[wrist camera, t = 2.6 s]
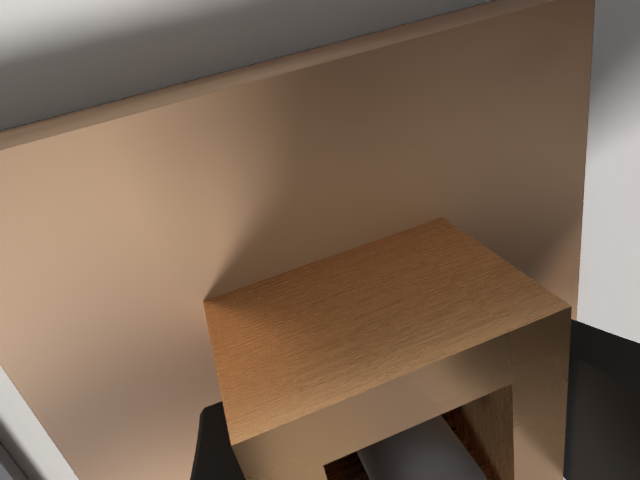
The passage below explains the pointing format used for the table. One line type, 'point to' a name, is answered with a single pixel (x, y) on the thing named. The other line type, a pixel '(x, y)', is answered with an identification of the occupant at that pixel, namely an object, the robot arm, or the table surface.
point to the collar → (393, 359)
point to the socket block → (277, 214)
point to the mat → (9, 467)
